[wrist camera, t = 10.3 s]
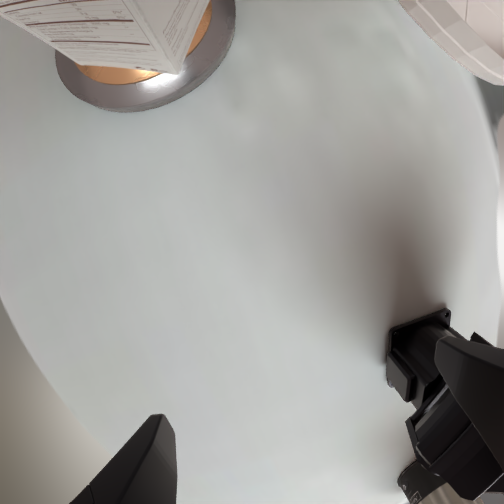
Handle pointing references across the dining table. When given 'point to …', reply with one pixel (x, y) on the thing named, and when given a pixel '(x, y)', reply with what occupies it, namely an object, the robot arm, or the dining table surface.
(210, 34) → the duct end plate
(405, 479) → the milk frother
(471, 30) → the dish
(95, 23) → the supplement box
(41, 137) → the dining table surface
